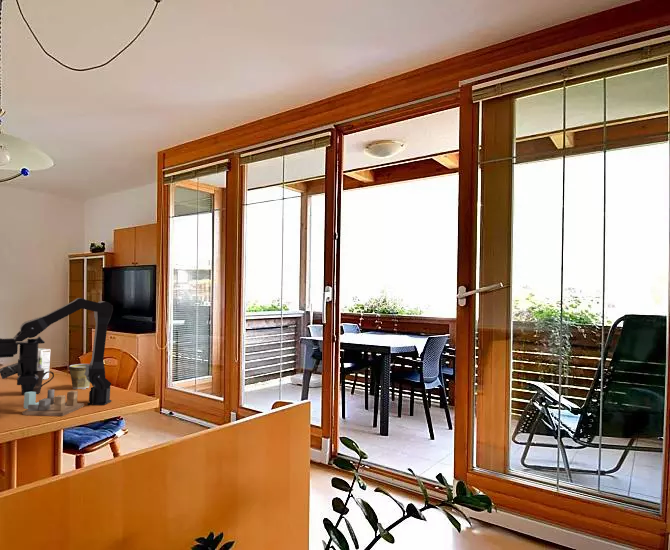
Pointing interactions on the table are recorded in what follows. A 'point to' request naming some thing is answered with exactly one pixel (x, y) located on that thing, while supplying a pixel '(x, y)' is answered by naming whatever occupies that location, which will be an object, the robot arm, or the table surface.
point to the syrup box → (44, 360)
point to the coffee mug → (39, 380)
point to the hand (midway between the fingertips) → (26, 399)
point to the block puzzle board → (55, 405)
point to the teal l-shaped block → (30, 399)
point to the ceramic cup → (79, 376)
